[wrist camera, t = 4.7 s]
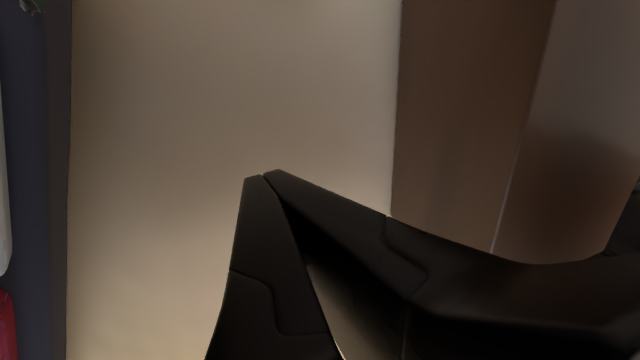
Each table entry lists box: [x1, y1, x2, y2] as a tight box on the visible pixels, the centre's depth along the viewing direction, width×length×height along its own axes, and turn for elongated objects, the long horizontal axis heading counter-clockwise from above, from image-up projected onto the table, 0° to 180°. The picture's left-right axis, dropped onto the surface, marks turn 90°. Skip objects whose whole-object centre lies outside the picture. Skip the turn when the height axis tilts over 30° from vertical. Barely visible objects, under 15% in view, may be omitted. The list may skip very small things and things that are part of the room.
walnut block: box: [391, 0, 640, 264], centre depth 11 cm, size 5×8×4 cm, turn 3°
